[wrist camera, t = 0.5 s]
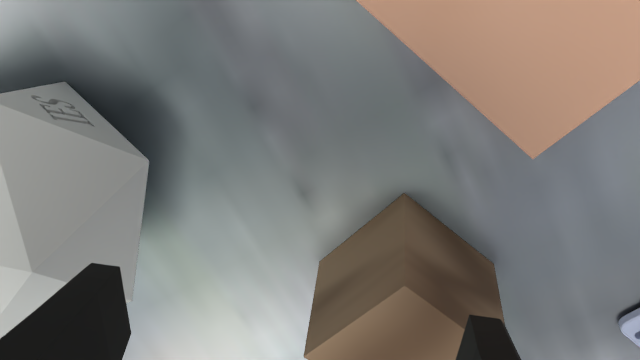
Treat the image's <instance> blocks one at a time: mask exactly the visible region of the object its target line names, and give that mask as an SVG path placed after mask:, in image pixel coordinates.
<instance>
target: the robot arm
mask: <svg viewBox="0 0 640 360" xmlns="http://www.w3.org/2000/svg"><path fill="white" fill-rule="evenodd" d="M618 323H619V328H620V330H621V332H622V333H623V334H624V335H625V336H626V337H627V338H629V339H630V340H631V341H632V342H633V343H635V344H636V345H637V346H638V347H640V332H638V331H640V308H638V309H636V310H634V311H632V312H631V313H629V314H627V315H625V316H623V317H622V318H621V319H620V320H619V322H618ZM130 335H131V330H130V324H129V318H128V312H127V306H126V300H125V294H124V288H123V282H122V276H121V270H120V267H119V266H111V265H104V264H97V263H91V264H89V265H88V266H87V267H86V268H84V269H83V270H82V271H81V272H80V273H78V274H77V275H76V276H75V277H74V278H72V279H71V280H70V281H69V282H68V283H67V284H65V285H64V286H63V287H62V288H61V289H60V290H58V291H57V292H56V293H55V294H54V295H53V296H51V297H50V298H49V299H48V300H47V301H45V302H44V303H43V304H42V305H41V306H40V307H38V308H37V309H36V310H35V311H34V312H32V313H31V314H30V315H29V316H27V317H26V318H25V319H24V320H22V321H21V322H20V323H19V324H18V325H16V326H15V327H14V328H13V329H11V330H10V331H9V332H8V333H6V334H5V335H4V336H3V337H1V338H0V360H122V358H123V355H124V352H125V349H126V346H127V344H128V341H129V338H130ZM456 360H521V358H520V356H519V354H518V352H517V350H516V348H515V346H514V344H513V342H512V340H511V338H510V336H509V333H508V331H507V329H506V327H505V324H504V323H503V322H502V320H501V319H498V318H491V317H484V316H476V315H469V317H468V320H467V324H466V327H465V330H464V334H463V337H462V340H461V344H460V347H459V350H458V353H457V357H456Z"/></svg>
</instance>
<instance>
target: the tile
mask: <svg viewBox="0 0 640 360" xmlns="http://www.w3.org/2000/svg"><path fill="white" fill-rule="evenodd" d="M356 1H357V2H359V3H360V4H361V5H362V6H363V7H364V8H365V9H366V10H367V11H369V12H370V13H371V14H372V15H373V16H374V17H375V18H376V19H377V20H379V21H380V22H381V23H382V24H383V25H384V26H385V27H386V28H387V29H389V30H390V31H391V32H392V33H393V34H394V35H395V36H396V37H397V38H399V39H400V40H401V41H402V42H403V43H404V44H405V45H406V46H407V47H409V48H410V49H411V50H412V51H413V52H414V53H415V54H416V55H417V56H419V57H420V58H421V59H422V60H423V61H424V62H425V63H426V64H427V65H429V66H430V67H431V68H432V69H433V70H434V71H435V72H436V73H437V74H439V75H440V76H441V77H442V78H443V79H444V80H445V81H446V82H448V83H449V84H450V85H451V86H452V87H453V88H454V89H455V90H456V91H458V92H459V93H460V94H461V95H462V96H463V97H464V98H465V99H466V100H468V101H469V102H470V103H471V104H472V105H473V106H474V107H475V108H476V109H478V110H479V111H480V112H481V113H482V114H483V115H484V116H485V117H486V118H488V119H489V120H490V121H491V122H492V123H493V124H494V125H495V126H496V127H498V128H499V129H500V130H501V131H502V132H503V133H504V134H505V135H506V136H508V137H509V138H510V139H511V140H512V141H513V142H514V143H515V144H516V145H518V146H519V147H520V148H521V149H522V150H523V151H524V152H525V153H526V154H528V155H529V156H530V157H531V158H532V159H534V158H535V157H537V156H538V155H539V154H541V153H542V152H543V151H545V150H546V149H547V148H549V147H550V146H552V145H553V144H554V143H556V142H557V141H558V140H560V139H561V138H562V137H564V136H565V135H566V134H568V133H569V132H570V131H572V130H573V129H575V128H576V127H577V126H579V125H580V124H581V123H583V122H584V121H585V120H587V119H588V118H589V117H591V116H592V115H593V114H595V113H596V112H597V111H599V110H600V109H602V108H603V107H604V106H606V105H607V104H608V103H610V102H611V101H612V100H614V99H615V98H616V97H618V96H619V95H620V94H622V93H623V92H625V91H626V90H627V89H629V88H630V87H631V86H633V85H634V84H635V83H637V82H638V81H639V80H640V0H356Z"/></svg>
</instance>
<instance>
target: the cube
mask: <svg viewBox="0 0 640 360" xmlns="http://www.w3.org/2000/svg"><path fill="white" fill-rule="evenodd" d="M469 315H476V316H484V317H491V318H498V319H501V320H502V322H503V323H504V318H503V312H502V306H501V301H500V295H499V290H498V284H497V279H496V273H495V268H494V264H493V263H492V262H491V261H489V260H488V259H487V258H486V257H484V256H483V255H482V254H481V253H479V252H478V251H477V250H476V249H474V248H473V247H472V246H471V245H469V244H468V243H467V242H465V241H464V240H463V239H462V238H460V237H459V236H458V235H457V234H455V233H454V232H453V231H452V230H450V229H449V228H448V227H447V226H445V225H444V224H443V223H442V222H440V221H439V220H438V219H437V218H435V217H434V216H433V215H432V214H430V213H429V212H428V211H427V210H425V209H424V208H423V207H422V206H420V205H419V204H418V203H417V202H415V201H414V200H413V199H412V198H410V197H409V196H408V195H407V194H405V193H404V194H402V195H401V196H400V197H399V198H398V199H396V200H395V201H394V202H393V203H391V204H390V205H389V206H388V207H386V208H385V209H384V210H383V211H381V212H380V213H379V214H378V215H377V216H375V217H374V218H373V219H372V220H370V221H369V222H368V223H367V224H365V225H364V226H363V227H362V228H360V229H359V230H358V231H357V232H356V233H354V234H353V235H352V236H351V237H349V238H348V239H347V240H346V241H344V242H343V243H342V244H341V245H340V246H338V247H337V248H336V249H335V250H333V251H332V252H331V253H330V254H328V255H327V256H326V257H325V258H323V259H322V260H321V261H320V262H319V268H318V274H317V280H316V286H315V292H314V298H313V304H312V310H311V316H310V322H309V328H308V334H307V340H306V346H305V352H304V357H305V358H307V359H308V360H456V357H457V353H458V350H459V347H460V344H461V340H462V337H463V334H464V330H465V327H466V324H467V320H468V317H469ZM504 324H505V323H504Z"/></svg>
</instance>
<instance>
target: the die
mask: <svg viewBox="0 0 640 360" xmlns="http://www.w3.org/2000/svg"><path fill="white" fill-rule="evenodd" d="M148 168H149V160H148V159H147V158H146V157H145V156H144V155H143V154H142V153H141V152H140V151H139V150H137V149H136V148H135V147H134V146H133V145H132V144H131V143H130V142H129V141H128V140H127V139H126V138H125V137H124V136H123V135H121V134H120V133H119V132H118V131H117V130H116V129H115V128H114V127H113V126H112V125H111V124H110V123H109V122H108V121H107V120H106V119H104V118H103V117H102V116H101V115H100V114H99V113H98V112H97V111H96V110H95V109H94V108H93V107H92V106H91V105H90V104H88V103H87V102H86V101H85V100H84V99H83V98H82V97H81V96H80V95H79V94H78V93H77V92H76V91H75V90H74V89H72V88H71V87H70V86H69V85H68V84H67V83H66V82H60V83H54V84H49V85H44V86H38V87H33V88H27V89H22V90H16V91H11V92H5V93H0V338H1V337H3V336H4V335H5V334H6V333H8V332H9V331H10V330H11V329H13V328H14V327H15V326H16V325H18V324H19V323H20V322H21V321H22V320H24V319H25V318H26V317H27V316H29V315H30V314H31V313H32V312H34V311H35V310H36V309H37V308H38V307H40V306H41V305H42V304H43V303H44V302H45V301H47V300H48V299H49V298H50V297H51V296H53V295H54V294H55V293H56V292H57V291H58V290H60V289H61V288H62V287H63V286H64V285H65V284H67V283H68V282H69V281H70V280H71V279H72V278H74V277H75V276H76V275H77V274H78V273H80V272H81V271H82V270H83V269H84V268H86V267H87V266H88V265H89V264H91V263H97V264H104V265H111V266H119V267H120V270H121V276H122V282H123V288H124V294H125V300H126V303H128V302H131V301H132V299H133V291H134V283H135V274H136V266H137V258H138V250H139V242H140V233H141V225H142V217H143V209H144V201H145V192H146V184H147V176H148Z"/></svg>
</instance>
